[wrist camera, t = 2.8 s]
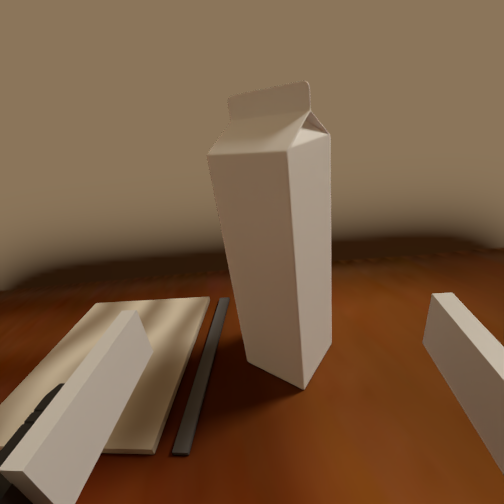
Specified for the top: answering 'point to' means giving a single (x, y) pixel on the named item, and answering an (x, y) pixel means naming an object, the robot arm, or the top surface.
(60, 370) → the mat
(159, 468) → the top surface
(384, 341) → the top surface
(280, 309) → the milk
